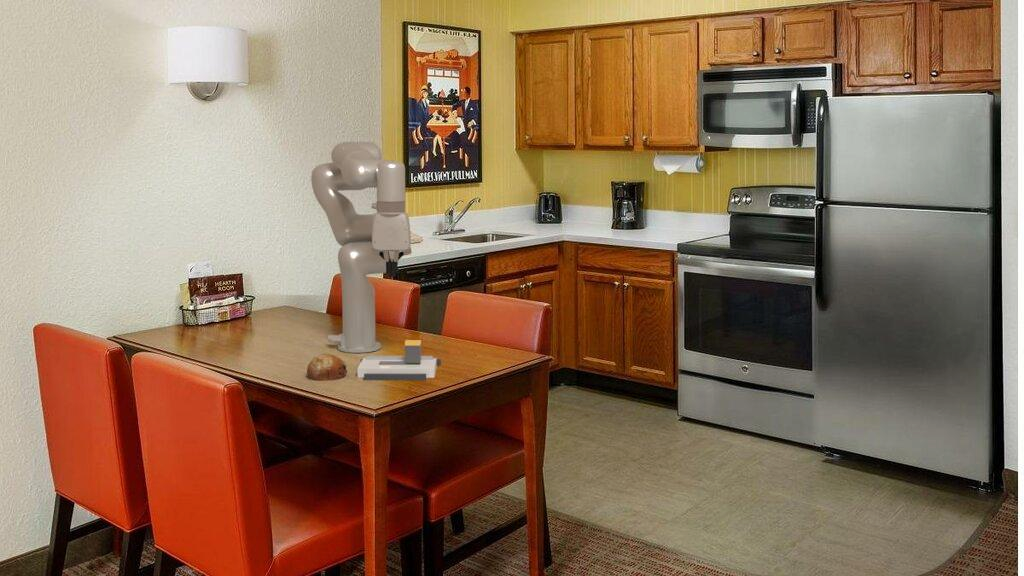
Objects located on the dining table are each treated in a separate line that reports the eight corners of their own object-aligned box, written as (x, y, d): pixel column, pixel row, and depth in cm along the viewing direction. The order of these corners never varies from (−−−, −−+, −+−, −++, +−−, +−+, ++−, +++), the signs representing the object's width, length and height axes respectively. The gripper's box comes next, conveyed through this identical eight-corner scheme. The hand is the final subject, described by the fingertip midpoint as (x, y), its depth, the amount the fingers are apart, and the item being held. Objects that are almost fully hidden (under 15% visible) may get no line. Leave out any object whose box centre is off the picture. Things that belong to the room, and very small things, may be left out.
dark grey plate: (352, 380, 250) (352, 374, 250) (361, 363, 267) (361, 358, 267) (437, 380, 250) (437, 375, 250) (440, 364, 268) (440, 359, 268)
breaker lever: (405, 363, 257) (404, 342, 256) (405, 360, 260) (405, 340, 259) (420, 363, 257) (420, 342, 256) (421, 360, 260) (421, 340, 259)
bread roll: (316, 385, 259) (303, 359, 257) (351, 368, 259) (338, 342, 257) (312, 395, 249) (298, 367, 248) (348, 378, 249) (334, 350, 248)
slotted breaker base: (357, 377, 252) (357, 365, 252) (363, 366, 264) (363, 355, 264) (434, 377, 253) (434, 365, 253) (436, 366, 265) (436, 355, 264)
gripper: (361, 208, 254) (362, 278, 257) (418, 209, 254) (418, 278, 257) (364, 206, 261) (365, 273, 264) (420, 207, 262) (420, 274, 264)
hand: (391, 275), depth 261 cm, fingers closed
